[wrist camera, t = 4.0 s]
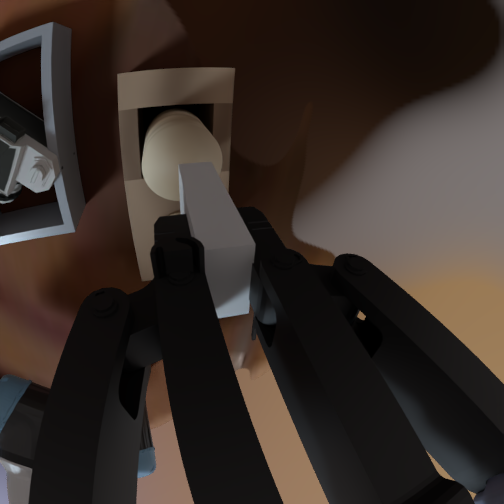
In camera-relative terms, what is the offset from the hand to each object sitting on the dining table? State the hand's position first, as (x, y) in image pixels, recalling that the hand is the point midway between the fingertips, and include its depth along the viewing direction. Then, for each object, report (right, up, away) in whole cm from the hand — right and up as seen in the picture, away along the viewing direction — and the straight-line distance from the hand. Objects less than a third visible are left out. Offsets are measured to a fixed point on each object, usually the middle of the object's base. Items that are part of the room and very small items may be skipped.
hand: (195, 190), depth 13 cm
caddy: (-22, +10, +8) cm, 26 cm away
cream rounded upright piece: (-4, +7, +9) cm, 12 cm away
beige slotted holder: (-6, +7, +16) cm, 19 cm away
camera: (-23, +10, +8) cm, 26 cm away
